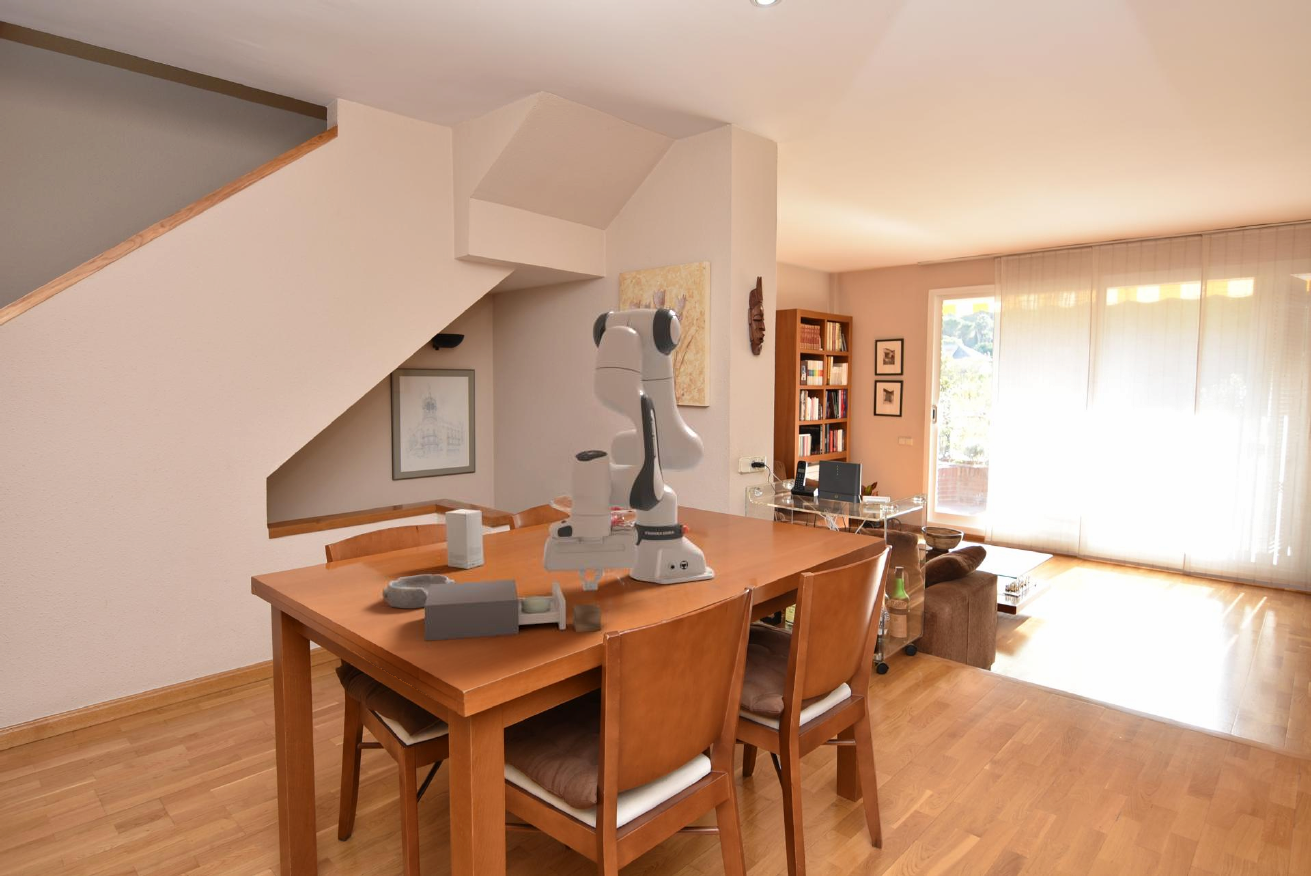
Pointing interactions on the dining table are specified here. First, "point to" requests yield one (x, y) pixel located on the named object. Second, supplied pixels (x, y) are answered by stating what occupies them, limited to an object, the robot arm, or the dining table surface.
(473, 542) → the skincare box
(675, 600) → the dining table surface
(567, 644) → the dining table surface
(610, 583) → the dining table surface
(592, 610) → the walnut block
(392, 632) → the dining table surface
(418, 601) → the dish
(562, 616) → the white drawer
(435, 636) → the grey drawer cabinet
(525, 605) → the pale green disc
